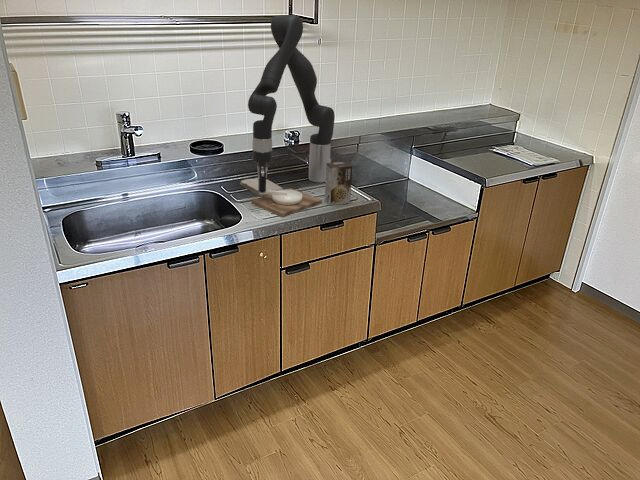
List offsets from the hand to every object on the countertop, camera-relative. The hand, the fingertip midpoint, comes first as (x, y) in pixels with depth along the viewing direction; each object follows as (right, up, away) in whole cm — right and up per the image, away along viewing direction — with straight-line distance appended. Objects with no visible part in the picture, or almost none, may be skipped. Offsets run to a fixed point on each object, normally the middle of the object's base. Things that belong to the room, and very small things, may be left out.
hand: (262, 190), depth 207 cm
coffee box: (+30, -4, +7) cm, 31 cm away
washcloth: (-2, +2, +17) cm, 17 cm away
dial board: (+10, -5, +2) cm, 11 cm away
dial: (+7, -3, +2) cm, 8 cm away
